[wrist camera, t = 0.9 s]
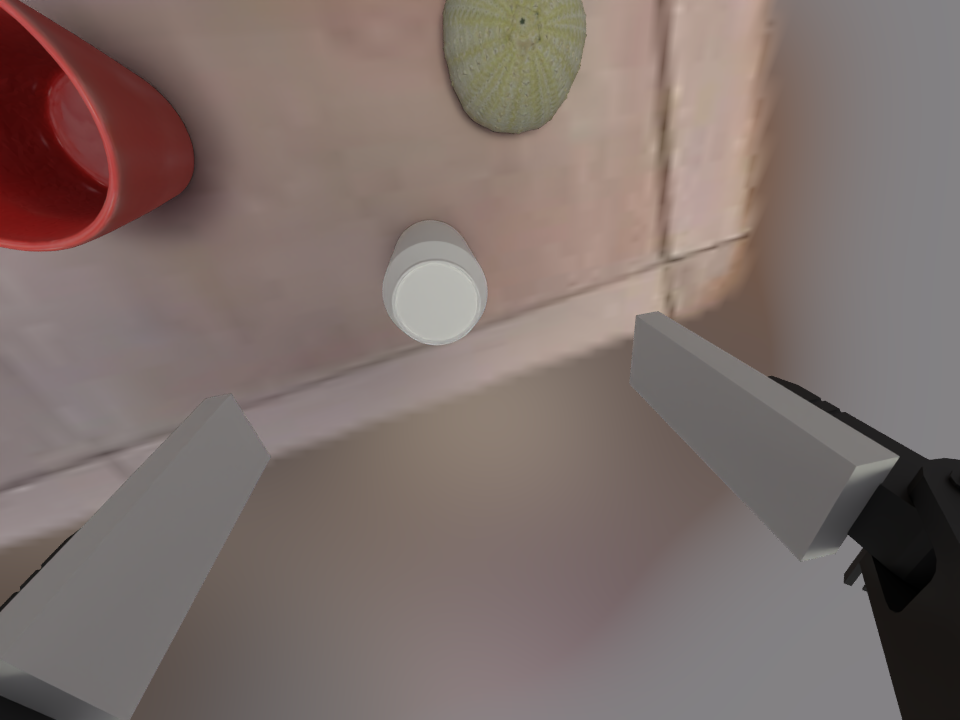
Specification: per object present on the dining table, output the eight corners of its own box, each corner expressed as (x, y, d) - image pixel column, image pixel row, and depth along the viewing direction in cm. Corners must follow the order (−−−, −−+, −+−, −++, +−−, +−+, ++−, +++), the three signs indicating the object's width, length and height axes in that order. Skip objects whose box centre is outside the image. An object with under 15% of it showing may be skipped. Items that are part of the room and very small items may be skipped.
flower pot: (193, 40, 21) (37, -48, 12) (238, 229, 26) (150, 258, 18) (-21, 10, 19) (-370, -117, 11) (74, 219, 24) (-112, 246, 16)
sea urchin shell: (442, 143, 24) (448, -7, 16) (439, 62, 26) (442, -104, 18) (567, 152, 25) (627, 18, 17) (554, 74, 27) (601, -76, 20)
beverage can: (467, 292, 31) (489, 354, 21) (397, 292, 30) (383, 356, 20) (469, 219, 28) (496, 249, 18) (392, 216, 27) (373, 245, 17)
